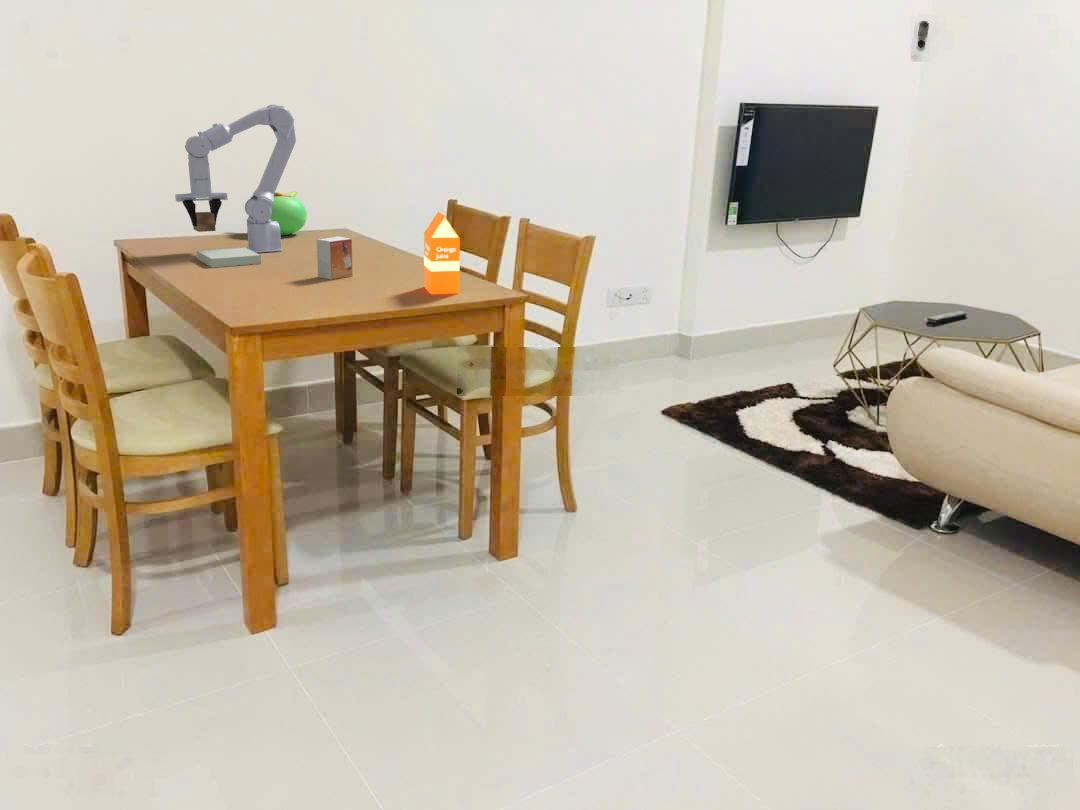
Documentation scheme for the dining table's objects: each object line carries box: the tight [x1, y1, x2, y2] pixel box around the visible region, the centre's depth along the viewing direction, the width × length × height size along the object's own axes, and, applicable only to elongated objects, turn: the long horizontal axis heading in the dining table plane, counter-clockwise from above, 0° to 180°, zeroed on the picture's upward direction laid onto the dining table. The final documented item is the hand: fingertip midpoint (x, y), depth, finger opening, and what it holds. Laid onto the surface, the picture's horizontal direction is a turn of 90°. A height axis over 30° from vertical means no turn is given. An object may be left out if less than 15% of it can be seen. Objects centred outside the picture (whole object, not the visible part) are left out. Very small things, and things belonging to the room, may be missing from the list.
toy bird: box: [250, 191, 308, 236], centre depth 301 cm, size 18×17×15 cm
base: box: [196, 246, 262, 268], centre depth 256 cm, size 14×14×2 cm
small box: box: [316, 235, 354, 281], centre depth 242 cm, size 8×6×10 cm
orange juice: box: [423, 211, 461, 295], centre depth 230 cm, size 8×9×20 cm
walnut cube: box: [192, 211, 217, 233], centre depth 264 cm, size 5×5×5 cm
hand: (204, 225), depth 264 cm, fingers closed on walnut cube, 5 cm apart
